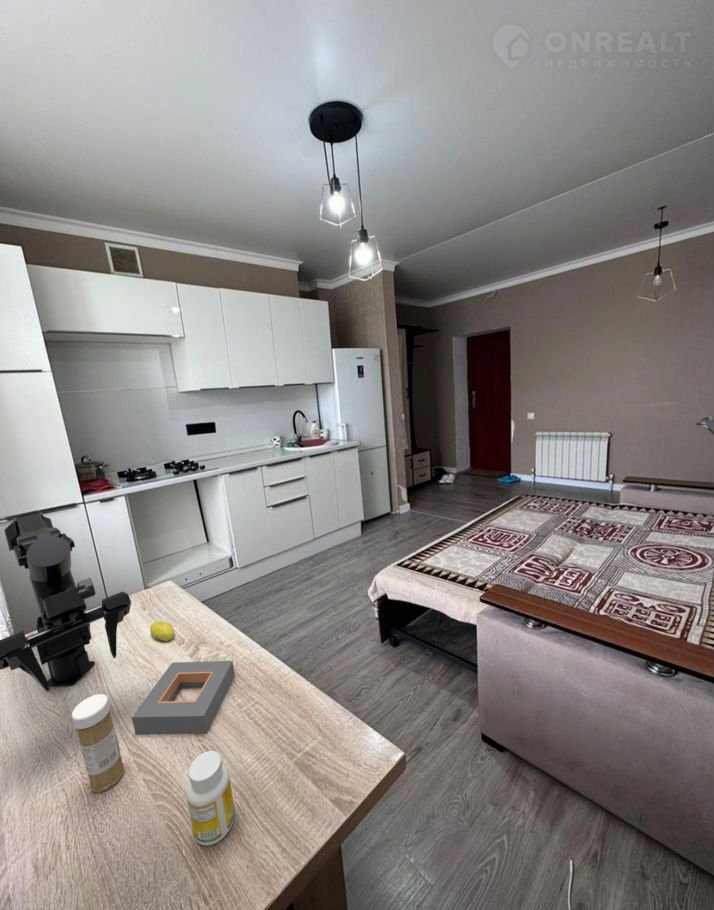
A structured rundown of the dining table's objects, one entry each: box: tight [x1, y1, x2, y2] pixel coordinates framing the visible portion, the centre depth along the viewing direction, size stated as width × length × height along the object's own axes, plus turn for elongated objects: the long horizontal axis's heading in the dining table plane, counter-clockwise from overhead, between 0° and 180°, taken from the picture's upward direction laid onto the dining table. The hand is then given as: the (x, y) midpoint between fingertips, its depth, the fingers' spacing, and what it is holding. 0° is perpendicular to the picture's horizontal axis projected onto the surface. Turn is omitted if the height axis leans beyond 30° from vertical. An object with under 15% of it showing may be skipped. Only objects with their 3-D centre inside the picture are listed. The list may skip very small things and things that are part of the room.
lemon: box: [149, 620, 175, 642], centre depth 92 cm, size 4×8×4 cm, turn 53°
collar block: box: [131, 660, 236, 735], centre depth 71 cm, size 13×13×4 cm
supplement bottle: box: [185, 750, 236, 846], centre depth 50 cm, size 5×5×10 cm
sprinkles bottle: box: [71, 693, 125, 793], centre depth 57 cm, size 5×5×13 cm
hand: (83, 673), depth 61 cm, fingers open, 9 cm apart
